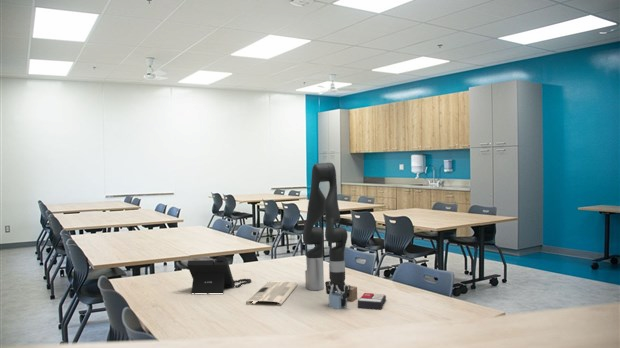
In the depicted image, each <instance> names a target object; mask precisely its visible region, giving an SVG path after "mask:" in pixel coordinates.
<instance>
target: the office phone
mask: <svg viewBox="0 0 620 348" xmlns="http://www.w3.org/2000/svg"><path fill="white" fill-rule="evenodd" d="M186 266H187V268H188V270H189V272H190V275H191V278H192V285H191V293H223V294H224V290H225V288H234V287H236V288H241V287H242V286H243V285H242V284H244V285H247V284H246V283H248V284H250V283H252V279H251V278H240V279H238V280H234V278H233V273H232V271H231V267H230V264H229V261H228V259H227V257H226V256H224V255H219V256H218V257H216V259H215V260H214V259H212V260H211V259H210V260H206V259H205V260H203V259H202V260H200V259H199V260H188V261H187V264H186ZM240 281H241V282H240ZM235 282H238V283H239V284H236V283H235ZM241 285H242V286H241ZM240 286H241V287H240ZM191 293H190V294H191Z"/></svg>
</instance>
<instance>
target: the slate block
mask: <svg viewBox="0 0 620 348" xmlns="http://www.w3.org/2000/svg"><path fill="white" fill-rule="evenodd" d="M343 296H344V295H343ZM328 307H329V308H333V309H336V310H340V309H344V308H346V307H348V301H347V298H346V305H345V306H344V307H341V296H340V295H339V293H338V292H337V291H336V292H335V293H331V294H328Z"/></svg>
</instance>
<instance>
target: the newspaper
mask: <svg viewBox="0 0 620 348" xmlns="http://www.w3.org/2000/svg"><path fill="white" fill-rule="evenodd" d="M298 285H299V284H298V283H297V282H294V281H286V280H285V281H284V280H282V281H280V280H279V281H275V280H274V281H267V282H266V283H265V284H264V285H263V286H262V287H261V288H260V289H258V290H257V291H256V292H255V293H254V294H253V295H252V296H251V297H250V298H249V299H247V301H246V303H245V304H246V305H247V304H248V305H249V304H251V303H252V302H253V301H259V302H271V303H272V302H274V303H277V304H276V306H279V307H281V306H282V305H283V304H284V302H285V301H286V300H287V299H288V297H290V295H291V294H292V293H293V291H294V290H295V289H296V288H297V287H298ZM278 303H279V304H278Z"/></svg>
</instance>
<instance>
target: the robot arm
mask: <svg viewBox="0 0 620 348" xmlns="http://www.w3.org/2000/svg"><path fill="white" fill-rule="evenodd" d="M310 179H311V181H310V192H309V196H308V197H309V199H308V204H307V213H306V217H305V218H306V219H305V223H304V227H303V230H302V241H303V244H304V245H307V246H310V245H311V246H313V245H315V246H314V247H312V249H309V250H308V251H306V253H305V257H306V258H305V261H306V265H305V266H306V270H304V271H305V273H304V274H305V276H304V277H305V288H306V289H307V290H309V291H321V290H324V288H325V292H326V294H327V295H329V294H331V293H335V292H338V293H339V295H340V296H341V307H344V306H345V305H346V298H349V296H350V286H351V285H350V284H346V281H345V280H346V263H345V249H346V245H347V241H348V238H349V237H348V231H347V229H346V228H345V227H343V226H340V227H334V225H335V224H338V223H339V222H341V213H340V207H339V201H338V186H337V185H338V184H337V171H336V167H335V165H334V163H333V162H321V163H314V164H313V166H312V168H311V178H310ZM324 182H325V183H326V182H328V183H329V188H328V193H327V196H326V197H325V195H324V193H323V191H322V190H321V188H320V184H321V183H324ZM323 216H324V217H325V230H323V228H322V227H320V226H316V227H314V226H315V225H316V223H318V222H319V220H321V218H322V217H323ZM324 231H325V232H324ZM324 238H325V241H326V242H327V243H329V244H335V243H336V245H335V246H333V247H331V248H329V253H328V254H329V264H328V267H329V268H328V271H329V272H328V273H329V278H328V279H329V280H327V281H325V279H324V278H325V274H324ZM341 291H342V292H341ZM343 295H344V296H343ZM344 308H345V307H344Z"/></svg>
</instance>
